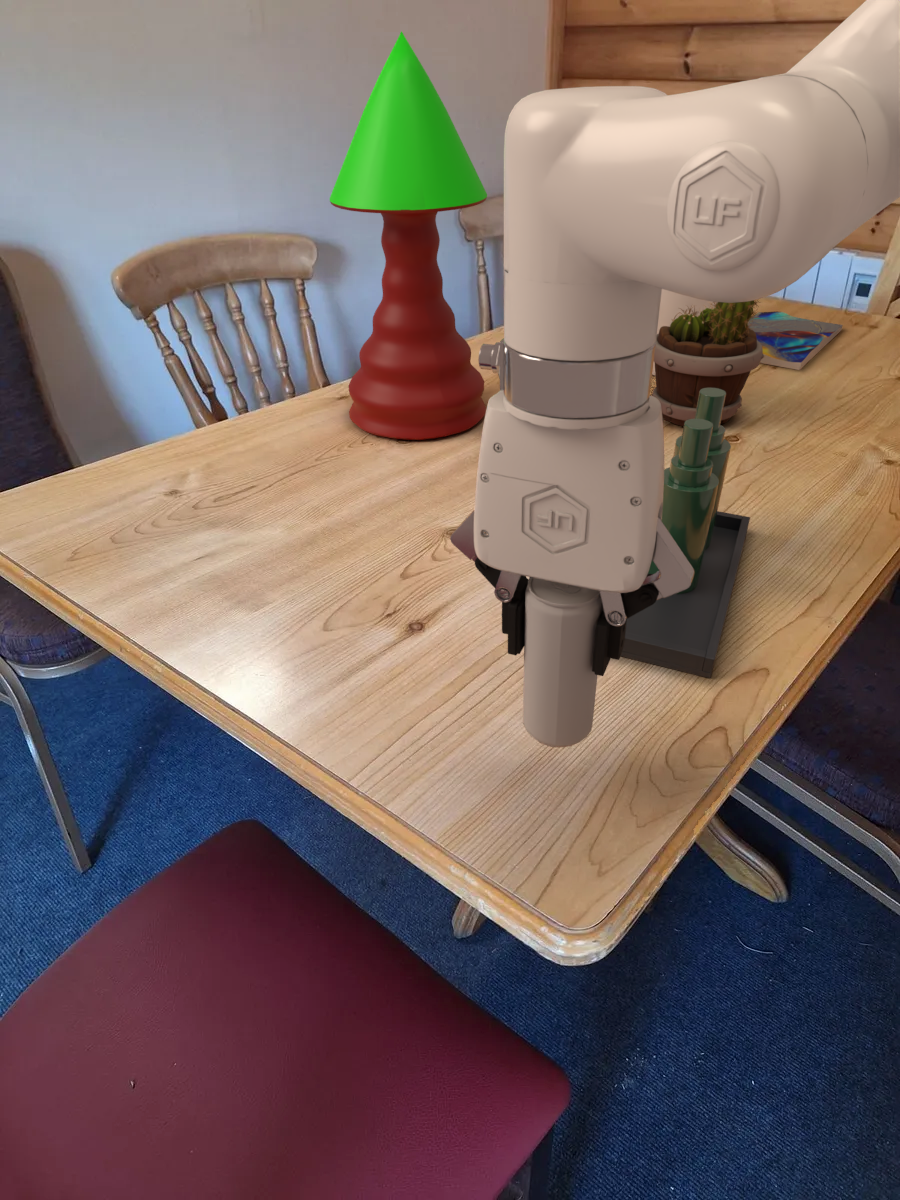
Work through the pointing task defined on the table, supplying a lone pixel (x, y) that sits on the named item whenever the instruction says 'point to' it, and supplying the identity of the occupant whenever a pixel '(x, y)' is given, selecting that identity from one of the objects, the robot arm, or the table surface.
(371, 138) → the table lamp
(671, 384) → the flowerpot
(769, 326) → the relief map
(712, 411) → the far bottle
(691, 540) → the middle bottle
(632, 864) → the table surface
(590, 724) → the beverage can
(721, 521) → the tray
